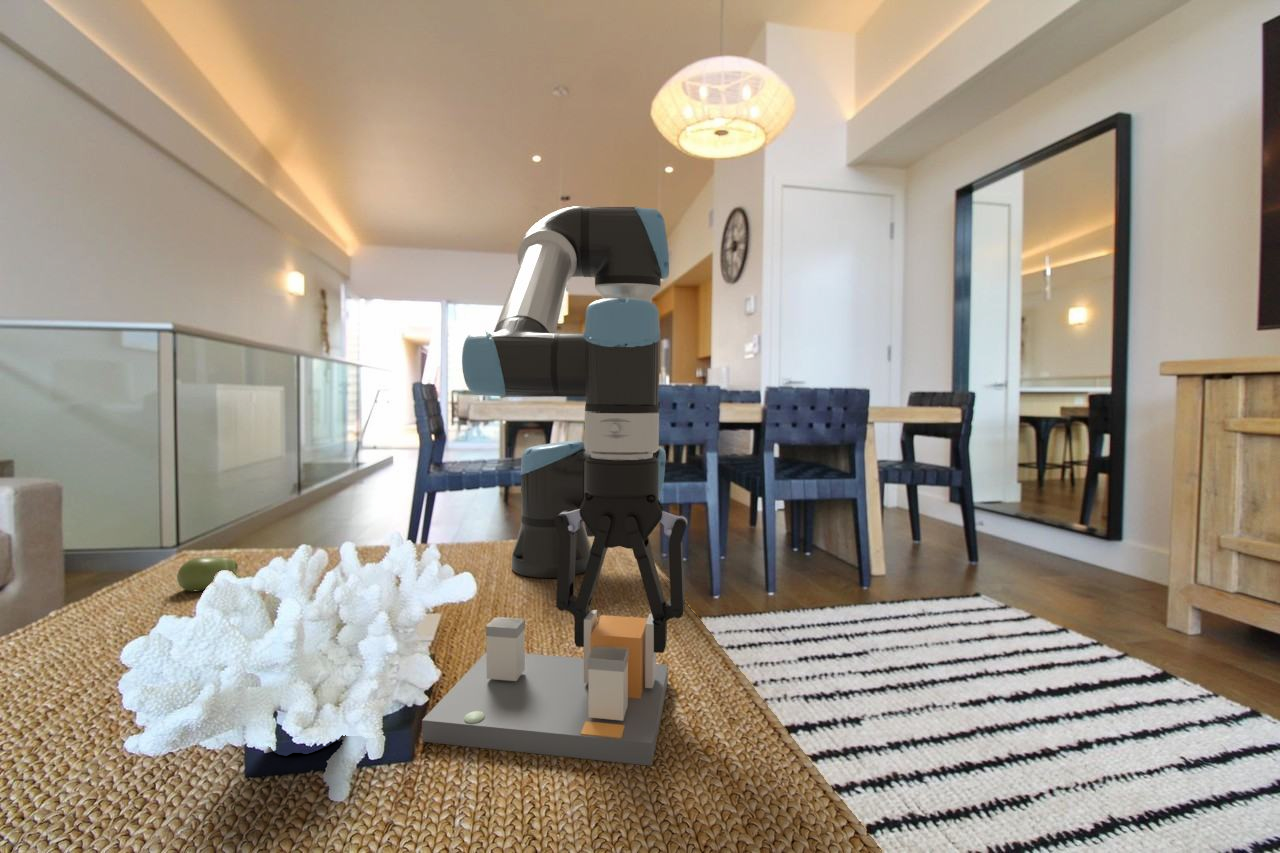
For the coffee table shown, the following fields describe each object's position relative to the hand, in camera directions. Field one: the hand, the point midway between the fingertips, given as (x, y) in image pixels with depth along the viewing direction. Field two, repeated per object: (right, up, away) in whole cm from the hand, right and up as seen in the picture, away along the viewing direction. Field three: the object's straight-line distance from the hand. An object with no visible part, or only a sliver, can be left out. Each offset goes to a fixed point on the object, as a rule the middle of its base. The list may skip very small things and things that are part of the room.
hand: (620, 678), depth 56 cm
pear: (-70, -1, +35) cm, 78 cm away
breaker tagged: (-1, -1, -6) cm, 6 cm away
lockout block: (0, 0, 0) cm, 0 cm away
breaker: (-12, 0, +1) cm, 12 cm away
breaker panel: (-6, -2, -1) cm, 7 cm away
